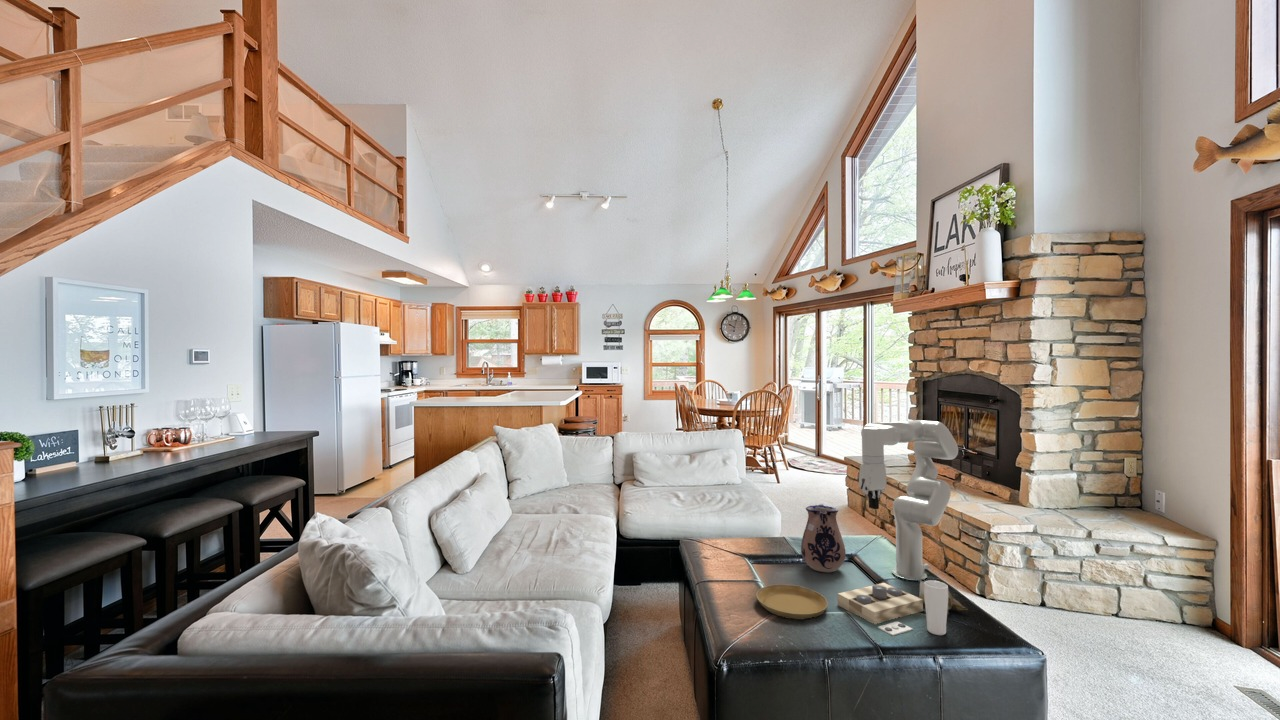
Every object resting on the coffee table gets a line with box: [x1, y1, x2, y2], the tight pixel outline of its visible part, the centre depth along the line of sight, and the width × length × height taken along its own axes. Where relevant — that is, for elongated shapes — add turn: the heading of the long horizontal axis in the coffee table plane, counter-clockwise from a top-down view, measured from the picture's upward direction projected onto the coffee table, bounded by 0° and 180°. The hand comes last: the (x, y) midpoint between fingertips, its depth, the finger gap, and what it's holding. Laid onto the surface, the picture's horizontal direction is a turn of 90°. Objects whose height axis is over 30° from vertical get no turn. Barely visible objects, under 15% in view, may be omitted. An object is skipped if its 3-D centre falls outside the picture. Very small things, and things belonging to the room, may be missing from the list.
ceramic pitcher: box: [800, 503, 847, 573], centre depth 226 cm, size 18×21×25 cm
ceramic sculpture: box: [918, 581, 969, 616], centre depth 186 cm, size 11×9×15 cm
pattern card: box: [877, 620, 914, 637], centre depth 172 cm, size 9×6×1 cm, turn 115°
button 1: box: [857, 595, 871, 605], centre depth 184 cm, size 5×5×5 cm
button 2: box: [888, 586, 903, 597], centre depth 190 cm, size 5×5×5 cm
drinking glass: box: [923, 579, 949, 636], centre depth 170 cm, size 7×7×15 cm
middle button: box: [871, 584, 887, 601], centre depth 187 cm, size 5×5×5 cm
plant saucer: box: [755, 583, 829, 620], centre depth 188 cm, size 24×24×3 cm
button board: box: [837, 582, 924, 625], centre depth 187 cm, size 23×16×4 cm
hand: (873, 508), depth 203 cm, fingers closed
